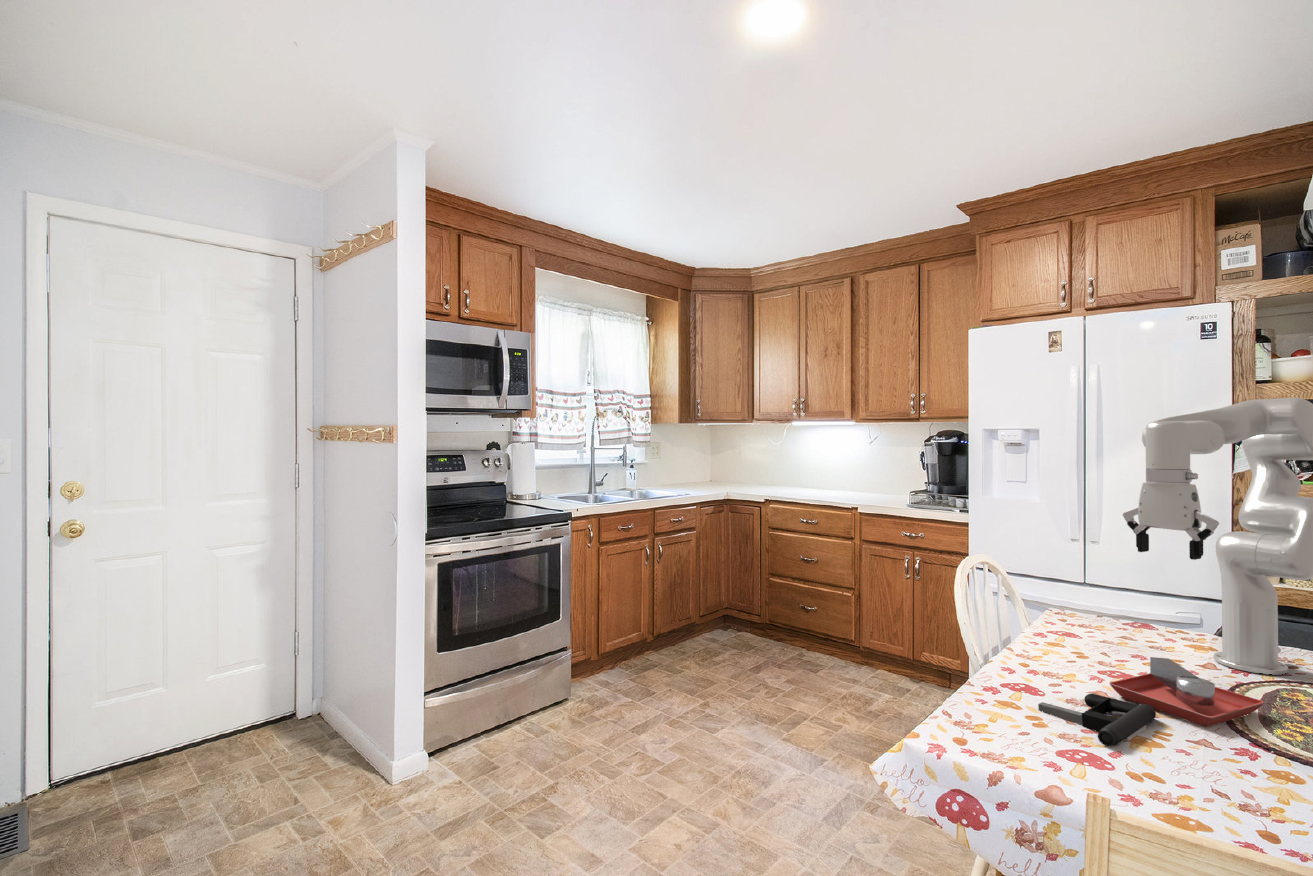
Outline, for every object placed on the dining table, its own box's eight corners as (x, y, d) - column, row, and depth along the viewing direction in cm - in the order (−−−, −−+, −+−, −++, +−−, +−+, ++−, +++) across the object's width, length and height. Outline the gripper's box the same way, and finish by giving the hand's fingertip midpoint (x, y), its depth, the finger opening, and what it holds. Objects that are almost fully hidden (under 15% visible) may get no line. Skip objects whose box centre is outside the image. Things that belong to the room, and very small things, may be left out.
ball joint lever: (1144, 673, 132) (1144, 656, 132) (1175, 675, 131) (1175, 659, 131) (1186, 703, 116) (1186, 685, 116) (1221, 707, 115) (1221, 688, 115)
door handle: (1023, 707, 117) (1122, 735, 104) (1069, 684, 128) (1164, 706, 115) (1024, 725, 117) (1124, 755, 104) (1070, 700, 128) (1166, 724, 115)
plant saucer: (1107, 697, 128) (1106, 681, 128) (1160, 684, 134) (1160, 669, 134) (1211, 735, 111) (1211, 717, 111) (1267, 719, 117) (1266, 702, 117)
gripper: (1226, 479, 127) (1227, 560, 127) (1133, 475, 143) (1133, 547, 143) (1207, 480, 124) (1208, 563, 124) (1114, 476, 140) (1115, 550, 139)
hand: (1168, 555), depth 133 cm, fingers open, 9 cm apart
